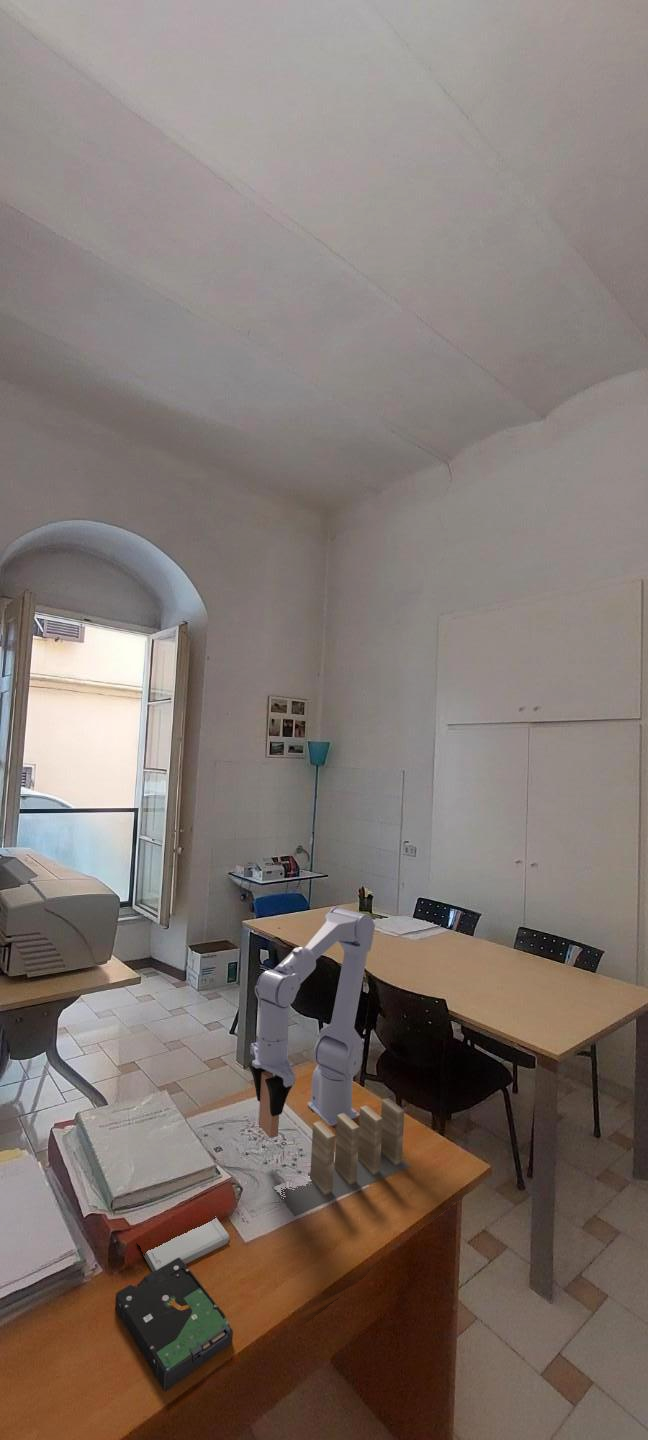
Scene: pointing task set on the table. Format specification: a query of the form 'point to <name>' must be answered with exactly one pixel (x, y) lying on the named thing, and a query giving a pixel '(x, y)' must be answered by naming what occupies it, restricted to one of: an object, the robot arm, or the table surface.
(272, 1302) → the table surface
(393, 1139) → the domino
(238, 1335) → the table surface
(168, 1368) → the disk drive
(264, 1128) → the domino
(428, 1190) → the table surface
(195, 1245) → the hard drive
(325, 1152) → the domino
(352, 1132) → the domino
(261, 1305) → the table surface
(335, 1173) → the grey flat rectangular board
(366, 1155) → the domino
